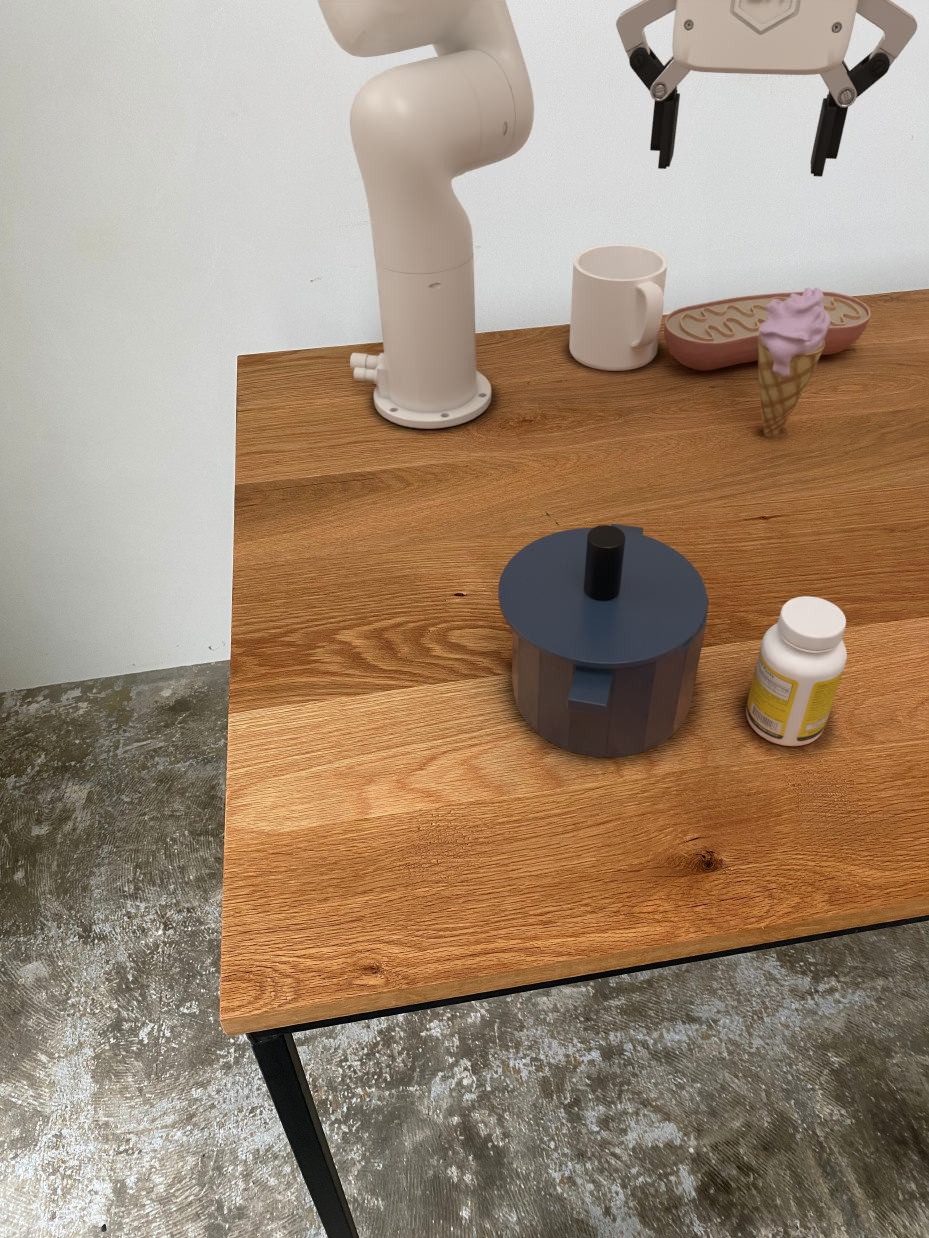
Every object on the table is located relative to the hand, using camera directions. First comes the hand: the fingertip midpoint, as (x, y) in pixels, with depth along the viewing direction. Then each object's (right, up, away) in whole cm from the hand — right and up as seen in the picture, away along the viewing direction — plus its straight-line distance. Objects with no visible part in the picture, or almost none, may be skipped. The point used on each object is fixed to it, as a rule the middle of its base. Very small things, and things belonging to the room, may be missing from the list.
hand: (739, 166), depth 61 cm
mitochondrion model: (+15, 0, +44) cm, 47 cm away
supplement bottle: (+4, -37, +5) cm, 37 cm away
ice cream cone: (+12, -12, +32) cm, 36 cm away
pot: (-8, -35, +7) cm, 37 cm away
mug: (0, 0, +45) cm, 45 cm away
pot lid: (-9, -28, +1) cm, 30 cm away
